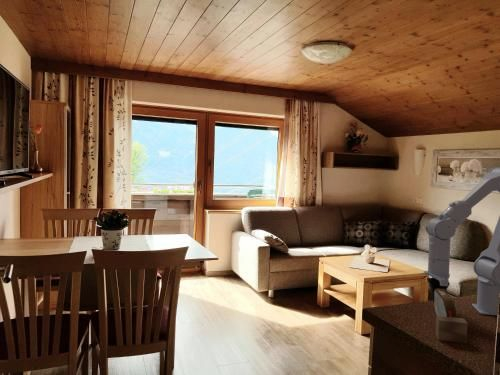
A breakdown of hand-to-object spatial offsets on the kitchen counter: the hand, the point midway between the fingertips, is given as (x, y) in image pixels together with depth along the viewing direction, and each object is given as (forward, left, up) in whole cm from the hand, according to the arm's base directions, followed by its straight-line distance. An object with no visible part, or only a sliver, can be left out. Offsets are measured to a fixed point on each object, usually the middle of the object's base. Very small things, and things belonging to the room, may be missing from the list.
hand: (437, 302), depth 114 cm
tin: (0, +9, -3) cm, 9 cm away
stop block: (+2, +20, -2) cm, 20 cm away
